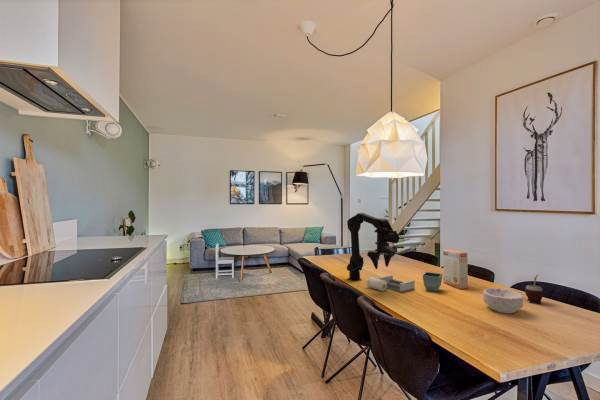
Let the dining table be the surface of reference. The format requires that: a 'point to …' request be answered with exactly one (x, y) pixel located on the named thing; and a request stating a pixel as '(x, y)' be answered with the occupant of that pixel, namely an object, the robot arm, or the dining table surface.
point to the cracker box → (455, 268)
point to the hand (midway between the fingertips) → (381, 267)
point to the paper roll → (376, 284)
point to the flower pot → (432, 281)
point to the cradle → (398, 284)
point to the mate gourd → (534, 293)
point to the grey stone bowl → (503, 300)
